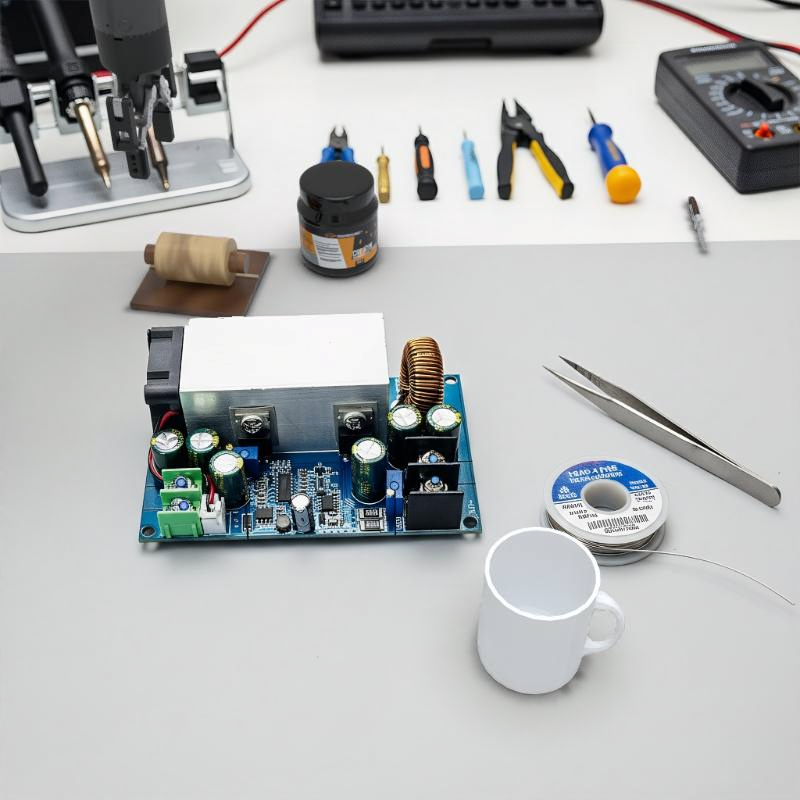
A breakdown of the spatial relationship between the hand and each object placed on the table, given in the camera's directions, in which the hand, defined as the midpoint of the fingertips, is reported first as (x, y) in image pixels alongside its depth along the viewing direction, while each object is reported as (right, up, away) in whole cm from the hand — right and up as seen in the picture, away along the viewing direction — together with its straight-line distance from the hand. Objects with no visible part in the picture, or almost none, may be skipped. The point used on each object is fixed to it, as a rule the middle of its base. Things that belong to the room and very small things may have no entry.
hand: (153, 158), depth 113 cm
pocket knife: (+70, -4, +26) cm, 75 cm away
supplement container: (+20, -9, +20) cm, 30 cm away
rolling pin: (+2, -12, +14) cm, 19 cm away
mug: (+41, -50, -24) cm, 69 cm away
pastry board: (+3, -12, +16) cm, 20 cm away
